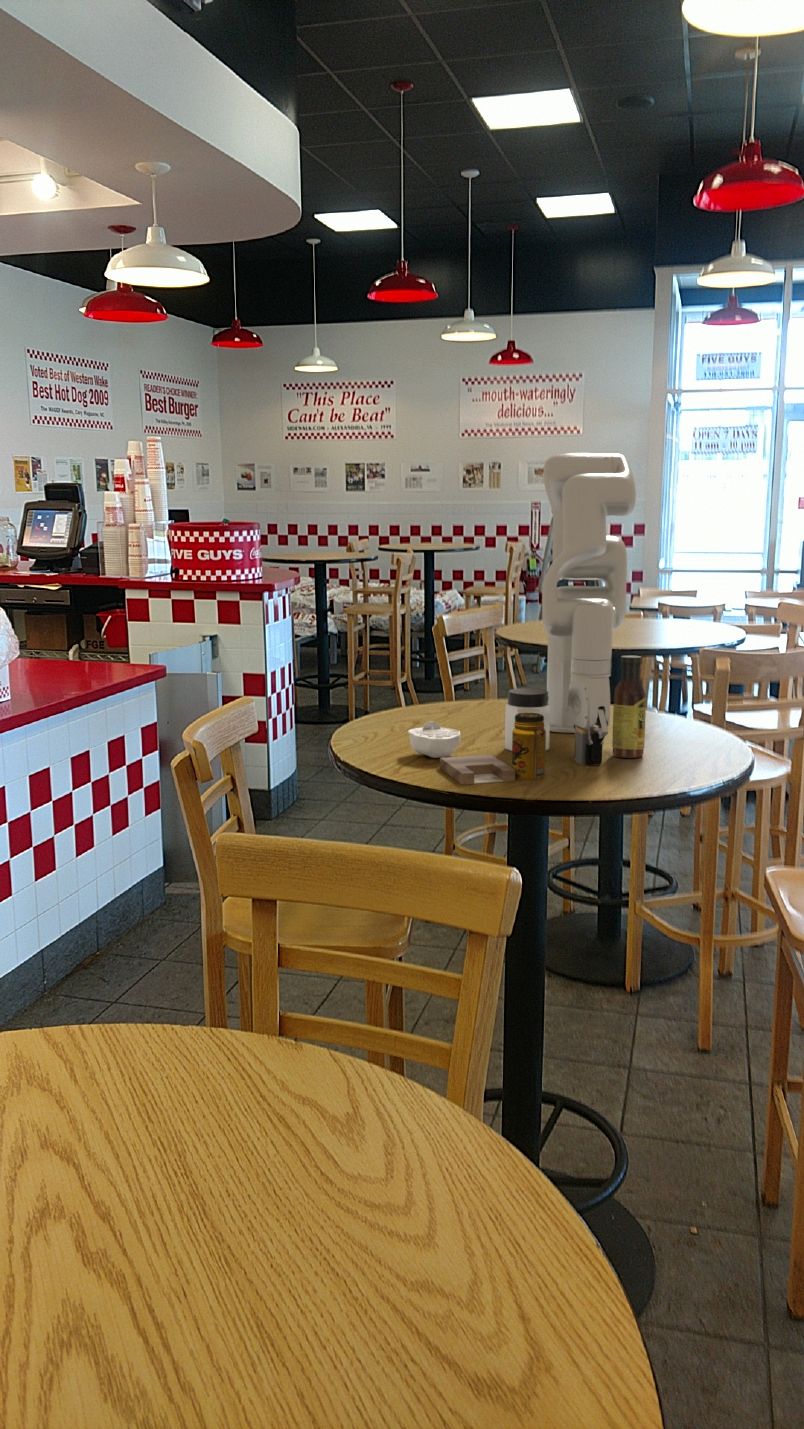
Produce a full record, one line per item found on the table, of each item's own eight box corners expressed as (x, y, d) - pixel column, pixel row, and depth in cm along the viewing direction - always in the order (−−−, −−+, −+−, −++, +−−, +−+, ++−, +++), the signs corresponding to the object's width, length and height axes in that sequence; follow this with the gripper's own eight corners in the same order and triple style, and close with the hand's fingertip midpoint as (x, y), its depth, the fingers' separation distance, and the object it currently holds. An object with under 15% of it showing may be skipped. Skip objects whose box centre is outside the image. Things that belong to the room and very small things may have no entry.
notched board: (440, 768, 201) (440, 757, 201) (490, 764, 204) (490, 754, 204) (462, 784, 189) (462, 773, 189) (515, 780, 192) (515, 769, 191)
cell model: (415, 764, 205) (415, 729, 203) (403, 751, 216) (403, 718, 215) (467, 762, 206) (467, 727, 205) (452, 749, 218) (452, 716, 217)
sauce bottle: (644, 760, 208) (648, 658, 204) (611, 758, 209) (615, 658, 205) (643, 752, 214) (647, 654, 210) (611, 751, 215) (615, 653, 212)
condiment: (501, 779, 194) (503, 715, 192) (527, 771, 201) (528, 708, 199) (535, 786, 190) (537, 720, 188) (560, 777, 196) (562, 713, 194)
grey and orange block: (575, 761, 207) (576, 726, 206) (594, 760, 208) (595, 725, 207) (581, 764, 204) (582, 729, 203) (600, 763, 205) (602, 728, 204)
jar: (556, 751, 215) (557, 693, 213) (521, 755, 212) (523, 696, 210) (531, 743, 223) (533, 686, 221) (498, 747, 220) (499, 689, 217)
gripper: (554, 662, 210) (552, 753, 213) (592, 674, 194) (588, 772, 197) (590, 661, 212) (587, 751, 215) (629, 673, 196) (625, 770, 199)
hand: (588, 760), depth 206 cm, fingers open, 4 cm apart
